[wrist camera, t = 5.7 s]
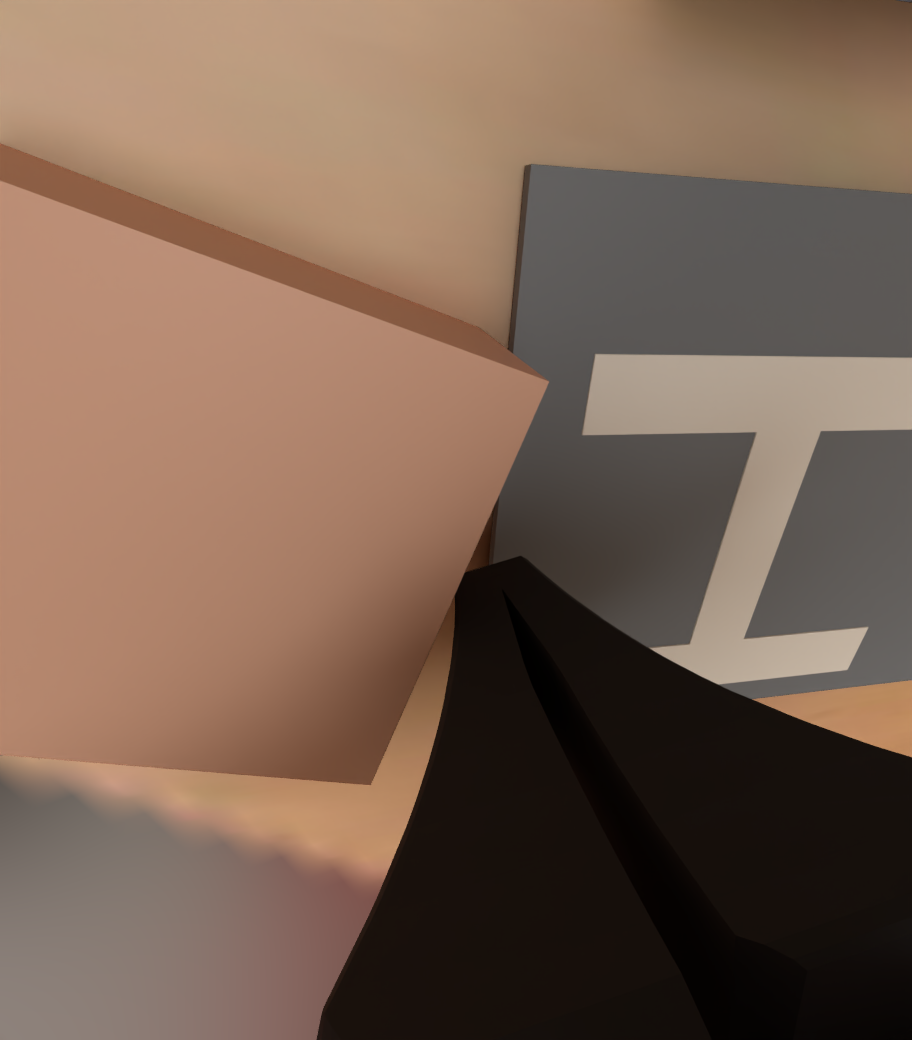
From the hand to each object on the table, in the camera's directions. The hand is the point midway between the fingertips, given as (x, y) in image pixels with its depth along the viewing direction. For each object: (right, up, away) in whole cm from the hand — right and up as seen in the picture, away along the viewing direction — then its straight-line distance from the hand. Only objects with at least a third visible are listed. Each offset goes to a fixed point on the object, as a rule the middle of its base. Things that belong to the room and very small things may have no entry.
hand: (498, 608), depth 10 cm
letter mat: (+9, +2, +3) cm, 10 cm away
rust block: (-5, +3, 0) cm, 6 cm away
